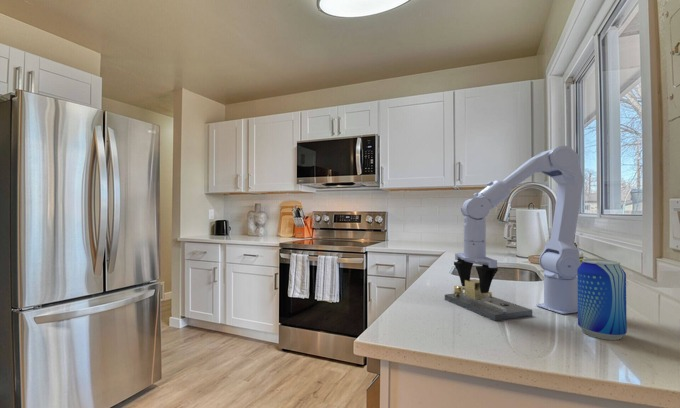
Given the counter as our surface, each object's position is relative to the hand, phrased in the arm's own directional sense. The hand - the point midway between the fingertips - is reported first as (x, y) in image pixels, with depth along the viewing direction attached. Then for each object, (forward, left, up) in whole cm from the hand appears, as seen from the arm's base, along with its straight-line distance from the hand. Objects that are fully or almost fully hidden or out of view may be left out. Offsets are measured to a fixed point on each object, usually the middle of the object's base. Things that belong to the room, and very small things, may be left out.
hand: (474, 289), depth 92 cm
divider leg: (-2, 0, -3) cm, 4 cm away
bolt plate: (-3, +1, -5) cm, 6 cm away
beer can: (-13, +25, -5) cm, 28 cm away
